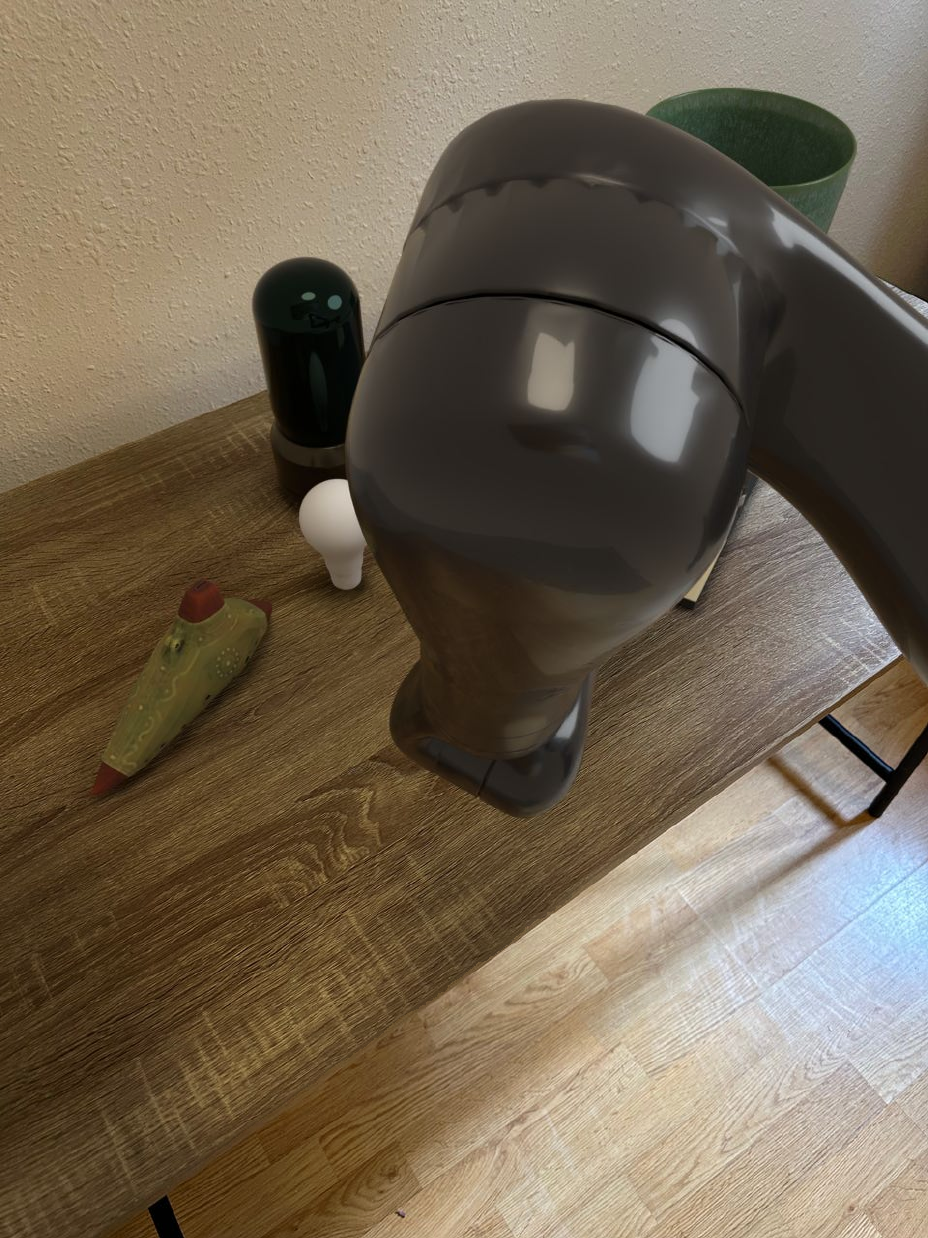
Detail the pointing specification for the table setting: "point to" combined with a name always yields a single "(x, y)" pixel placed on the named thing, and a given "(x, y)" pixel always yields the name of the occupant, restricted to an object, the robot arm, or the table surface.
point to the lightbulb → (334, 531)
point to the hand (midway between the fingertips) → (694, 386)
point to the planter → (772, 142)
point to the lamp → (309, 366)
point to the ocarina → (183, 676)
